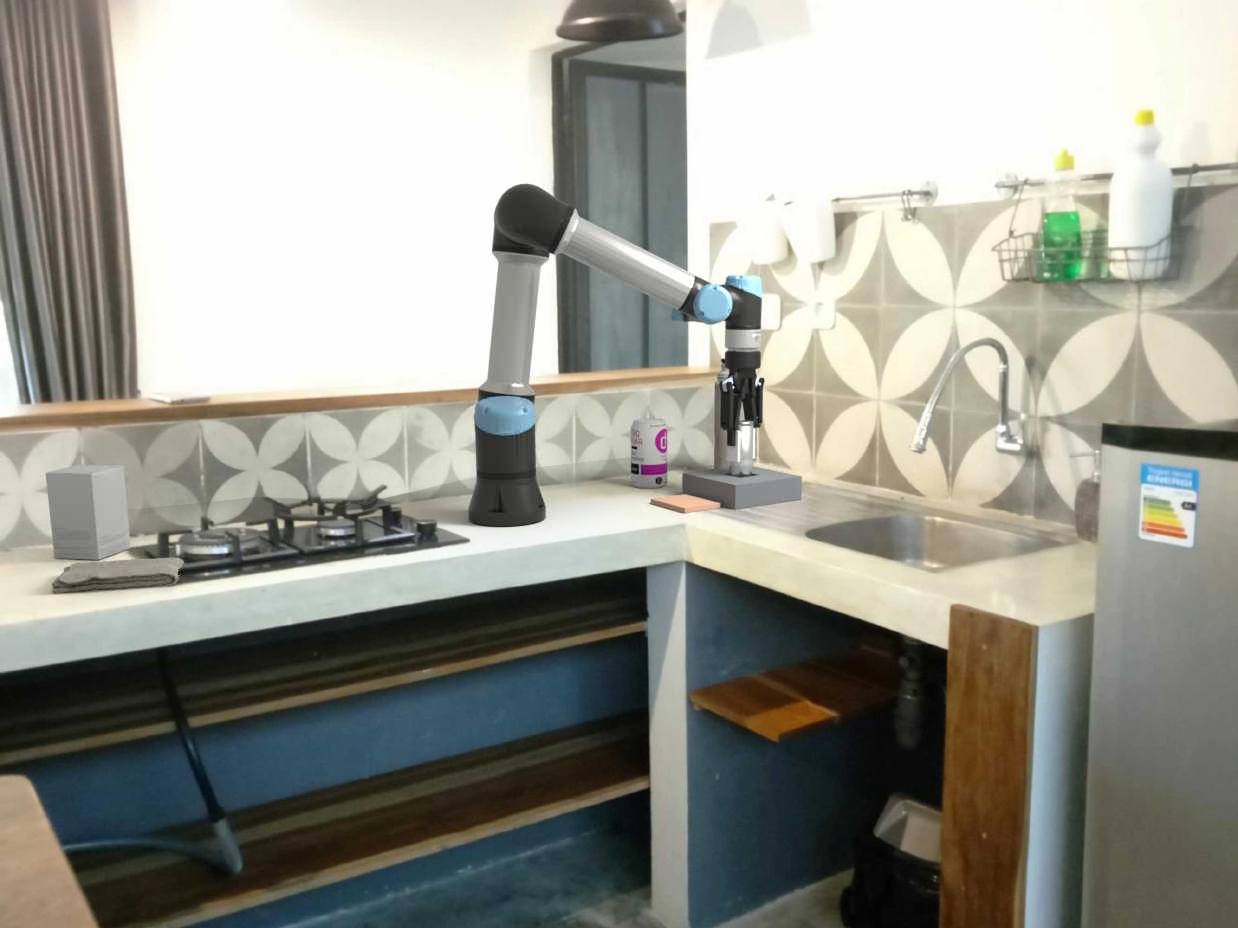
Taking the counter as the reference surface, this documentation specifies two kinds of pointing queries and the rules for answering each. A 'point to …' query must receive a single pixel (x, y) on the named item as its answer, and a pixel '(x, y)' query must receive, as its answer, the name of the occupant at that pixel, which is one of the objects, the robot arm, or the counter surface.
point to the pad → (685, 503)
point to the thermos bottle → (719, 433)
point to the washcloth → (118, 575)
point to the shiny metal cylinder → (744, 451)
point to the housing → (742, 487)
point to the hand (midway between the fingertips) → (741, 459)
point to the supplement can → (649, 453)
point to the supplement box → (88, 511)
